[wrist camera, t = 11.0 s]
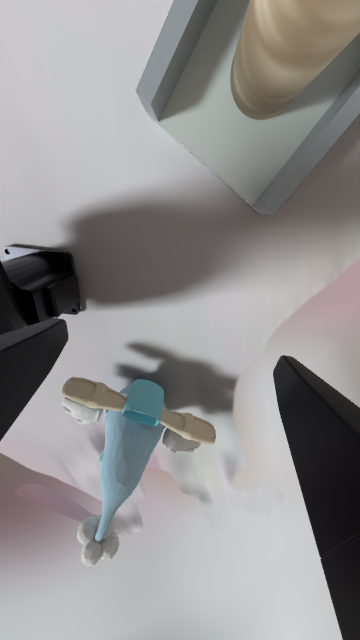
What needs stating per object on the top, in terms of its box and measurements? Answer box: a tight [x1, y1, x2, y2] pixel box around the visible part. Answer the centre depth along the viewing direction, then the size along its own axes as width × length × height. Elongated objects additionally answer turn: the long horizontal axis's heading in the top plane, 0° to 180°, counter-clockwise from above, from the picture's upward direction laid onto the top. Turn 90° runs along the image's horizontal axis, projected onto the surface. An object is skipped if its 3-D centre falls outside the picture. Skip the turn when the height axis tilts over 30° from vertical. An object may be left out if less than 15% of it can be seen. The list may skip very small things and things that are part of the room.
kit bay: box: [136, 0, 360, 216], centre depth 12 cm, size 11×12×4 cm
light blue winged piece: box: [62, 377, 216, 566], centre depth 22 cm, size 17×10×15 cm, turn 67°
